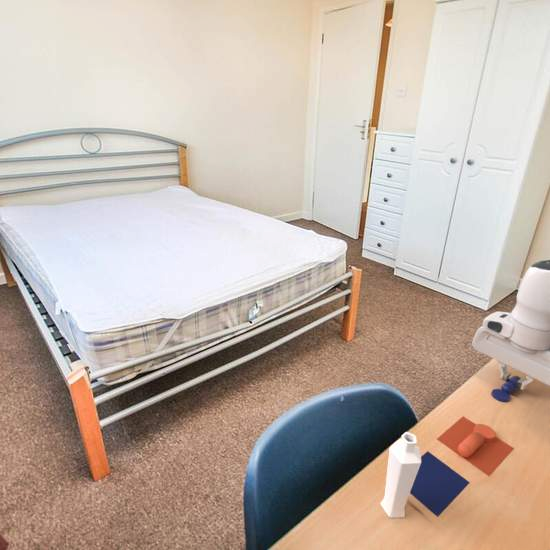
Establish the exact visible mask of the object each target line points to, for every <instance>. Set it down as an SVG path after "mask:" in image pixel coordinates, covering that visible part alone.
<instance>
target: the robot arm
mask: <svg viewBox="0 0 550 550" xmlns="http://www.w3.org/2000/svg"><path fill="white" fill-rule="evenodd" d="M471 346H472V348H473V350H475V351H476V352H479V353H481V354H483V355H485V356H486V357H489V358H491V359H493V360H495V361H497V362H498V363H497V367H498V369H499V373H500V375H499V379H500V380H502V381H504V383H505V382H506V381H507V380H509V379H510V378H511V375H512V373H511V372H509V371H508V368H507V367H509V368H511V369H513V370H515V371H518V372H520V373H522V374H523V375H526V376H525V379H524V378H521V379H520V380H519V381H518V382H517V385H516V387H517V389H520V390H521V391H524V390H526V388H527V386H528V385H529V384H531V383H532V382H534V381H535V380H536V381H538V382H540V383H543V384H544V385H546V386H548V387H550V259H547V260H539V261H537V262H535V263H532V265H530V266H529V267H528V269H526V272H525V274H524V275H523V278H522V280H521V283H520V285H519V287H518V291H517V294H516V303H515V306H514V308H513V309H512V310H511V312H507V311H494V312H492V313H490V314H489V315H487V316H486V317H485V318H484V319H483V320H482V325H481V326H480V327H478V328H477V330H476V332H475V333H474V336H473V339H472V342H471Z"/></svg>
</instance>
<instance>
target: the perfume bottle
mask: <svg viewBox="0 0 550 550" xmlns="http://www.w3.org/2000/svg"><path fill="white" fill-rule="evenodd" d="M417 439H418V438H417V435H415V434H413V433H412V432H409V431H405V432H404V433H403V434H401V437H400V438H399V439H398V440H396V441H395V442H394V443H393V444H391V445H390V446H389V449H388V459H387V460H388V461H387V468H386V476H385V477H386V478H385V487H384V488H385V489H384V497H383V499H382V500H381V501H380V506H381V508H382V509H383V510H384V512H385V513H386V516H388V518H391V519H393V518H394V519H395V518H405V517H406V515H405V514H406V510H405V507H406V504H407V501H408V499H409V497H410V495H411V494H410V491H411V488H412V486H413V483H414V480H415V478H416V475H417V473H418V470H419V467H420V465H421V456H422V453H421V448H420V447H419V445H416V444H417V443H418V440H417Z"/></svg>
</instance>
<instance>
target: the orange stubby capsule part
mask: <svg viewBox="0 0 550 550" xmlns="http://www.w3.org/2000/svg"><path fill="white" fill-rule="evenodd" d="M494 437H496V432H495V430H494V429H493V428H491V426H489V425H487V424H484V423H476V425H475V427H474V430H473V432H472V433H471V434H470V435H469V436H468V437H467V438H466V439H465V440H464V441H463V442H461V443H460V444H459V446H458V452H459V454H460V455H461V456H463V457H469V456H471V455H472V454H473V453H474V452H475V451H476V450H477V449H478V448H479V447H480V446H481V445H482V444H483V443H484V442H486V443H490V442H492V441H493V440H494ZM460 455H459V456H460ZM461 456H460V457H461Z"/></svg>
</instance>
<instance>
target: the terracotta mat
mask: <svg viewBox="0 0 550 550" xmlns="http://www.w3.org/2000/svg"><path fill="white" fill-rule="evenodd" d="M475 425H477V423H475V422H473V421H471V420H470V419H468V418H467V417H465V416H463V415H462V416H461V417H460V418H459V419H458V420H457V421H455V423H453V424H452V425H451V426H450V427H448V429H446V430H445V431H444V432H443V433H441V435H439V436H438V437H437V438H436V440H437V441H439V442H440V443H441V444H442V445H444V446H446V447H447V448H448V449H450V450H451V451H452V452H454V453H455V454H457V455H458V456H459V457H461V458H462V459H464V460H465V461H466V462H468V463H469V464H471V465H472V466H473V467H475V468H477V470H479V471H480V472H482V473H483V474H485V475H486V476H488V477H490V476H491V475H492V474H493V473H494V472H495V471H496V470H497V469H498V467H500V465H501V464H502V463H503V462H504V460H505V459H507V457H508V456H509V455H510V454H511V453H512V451H514V449H515V448H514V447H513V446H512V445H509V444H508V443H507V442H505V441H503V440H502V439H500V438H499V437H497V436H495V437H494V440H493V441H492V442H490V443H486V442H484V443H483V444H482V445H481V446H480V447H479V448H478V449H477V450H476V451H475V452H474V453H473V454H472V455H471V456H469V457H463V456H461V455H460V454H459V452H458V446H459V444H460V443H461V442H463V441H464V440H465V439H466V438H467V437H468V436H469V435H470V434H471V433H472V432H473V430H474V427H475Z"/></svg>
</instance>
